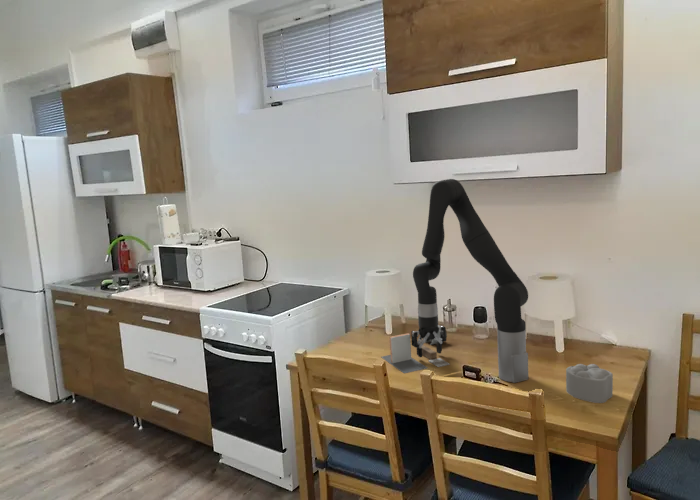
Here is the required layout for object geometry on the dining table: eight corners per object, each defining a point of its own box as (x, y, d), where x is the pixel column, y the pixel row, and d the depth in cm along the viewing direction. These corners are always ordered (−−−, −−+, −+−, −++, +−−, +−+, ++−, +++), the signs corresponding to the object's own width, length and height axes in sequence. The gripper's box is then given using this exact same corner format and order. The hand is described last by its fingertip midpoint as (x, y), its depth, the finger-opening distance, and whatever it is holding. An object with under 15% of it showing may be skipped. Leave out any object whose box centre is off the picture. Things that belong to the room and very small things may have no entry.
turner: (414, 354, 211) (414, 346, 211) (425, 352, 213) (425, 343, 213) (438, 368, 195) (437, 359, 194) (449, 366, 196) (449, 357, 196)
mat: (428, 369, 194) (428, 368, 194) (404, 374, 191) (404, 373, 191) (403, 353, 213) (403, 352, 213) (380, 358, 209) (380, 356, 209)
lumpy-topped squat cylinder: (601, 405, 158) (601, 377, 157) (559, 393, 168) (559, 367, 166) (615, 394, 165) (616, 367, 163) (574, 383, 174) (574, 358, 173)
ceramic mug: (448, 343, 222) (447, 325, 221) (433, 347, 218) (432, 329, 217) (433, 337, 231) (432, 320, 230) (417, 341, 227) (416, 324, 226)
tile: (411, 359, 204) (410, 334, 203) (392, 363, 201) (391, 337, 200) (409, 358, 206) (408, 333, 204) (390, 361, 203) (389, 336, 201)
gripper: (416, 319, 196) (418, 361, 199) (449, 313, 201) (450, 354, 204) (406, 314, 203) (408, 355, 206) (439, 308, 208) (440, 348, 211)
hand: (429, 354), depth 205 cm, fingers open, 8 cm apart
